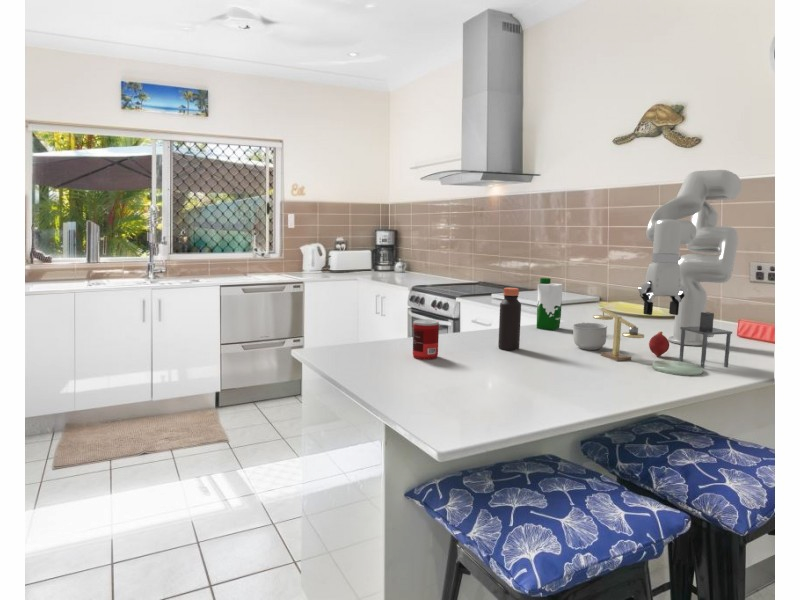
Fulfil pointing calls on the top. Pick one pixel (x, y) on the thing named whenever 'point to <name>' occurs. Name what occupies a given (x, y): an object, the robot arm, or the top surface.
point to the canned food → (425, 339)
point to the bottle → (509, 320)
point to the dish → (677, 367)
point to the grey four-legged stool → (705, 336)
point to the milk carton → (549, 304)
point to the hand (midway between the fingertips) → (660, 314)
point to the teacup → (589, 335)
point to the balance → (618, 335)
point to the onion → (659, 344)
